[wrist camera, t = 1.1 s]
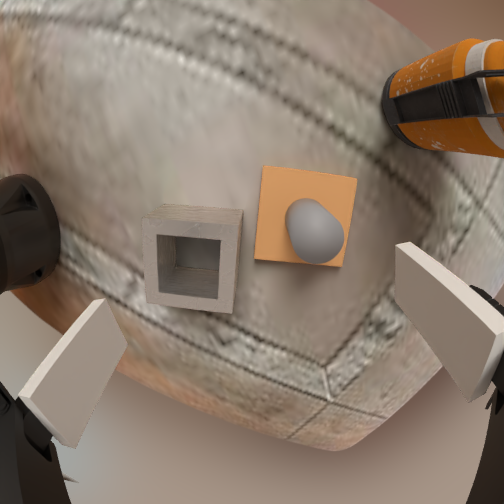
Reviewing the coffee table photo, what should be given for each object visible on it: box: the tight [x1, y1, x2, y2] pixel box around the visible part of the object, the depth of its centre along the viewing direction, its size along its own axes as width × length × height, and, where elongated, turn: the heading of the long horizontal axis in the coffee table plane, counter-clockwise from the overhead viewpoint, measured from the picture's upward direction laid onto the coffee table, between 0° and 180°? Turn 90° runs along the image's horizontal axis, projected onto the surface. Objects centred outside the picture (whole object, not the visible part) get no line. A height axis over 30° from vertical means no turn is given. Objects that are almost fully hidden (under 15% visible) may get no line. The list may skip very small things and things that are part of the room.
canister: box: [382, 39, 504, 158], centre depth 14 cm, size 9×11×20 cm
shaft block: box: [254, 166, 357, 267], centre depth 24 cm, size 9×9×8 cm
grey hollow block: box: [142, 204, 243, 314], centre depth 26 cm, size 8×8×6 cm
